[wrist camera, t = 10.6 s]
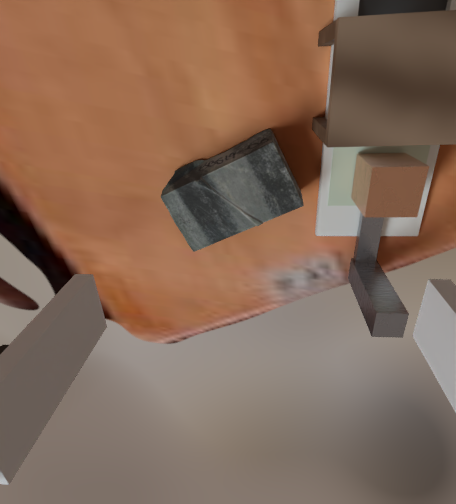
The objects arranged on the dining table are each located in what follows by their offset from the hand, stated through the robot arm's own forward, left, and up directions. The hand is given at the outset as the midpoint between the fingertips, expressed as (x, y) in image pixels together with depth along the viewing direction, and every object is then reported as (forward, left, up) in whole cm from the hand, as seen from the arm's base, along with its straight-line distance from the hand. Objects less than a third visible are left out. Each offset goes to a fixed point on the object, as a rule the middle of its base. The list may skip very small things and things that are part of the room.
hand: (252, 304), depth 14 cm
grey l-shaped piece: (+8, +13, -27) cm, 31 cm away
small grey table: (-7, +13, -29) cm, 32 cm away
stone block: (+4, -3, -29) cm, 30 cm away
